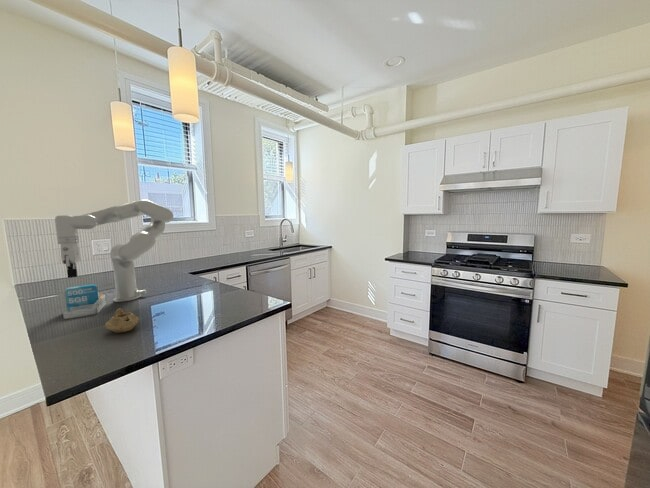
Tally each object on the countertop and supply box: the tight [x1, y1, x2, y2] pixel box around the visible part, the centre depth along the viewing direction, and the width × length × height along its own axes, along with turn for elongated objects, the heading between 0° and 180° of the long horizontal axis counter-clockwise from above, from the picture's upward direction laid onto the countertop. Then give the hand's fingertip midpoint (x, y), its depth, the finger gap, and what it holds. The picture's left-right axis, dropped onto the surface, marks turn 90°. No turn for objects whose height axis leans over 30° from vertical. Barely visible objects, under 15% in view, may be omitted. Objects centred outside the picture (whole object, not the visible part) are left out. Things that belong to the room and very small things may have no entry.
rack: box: [62, 293, 107, 320], centre depth 134 cm, size 12×18×5 cm, turn 29°
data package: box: [64, 283, 99, 312], centre depth 136 cm, size 12×4×12 cm, turn 132°
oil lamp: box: [104, 307, 140, 334], centre depth 108 cm, size 11×15×8 cm
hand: (72, 276), depth 134 cm, fingers closed
